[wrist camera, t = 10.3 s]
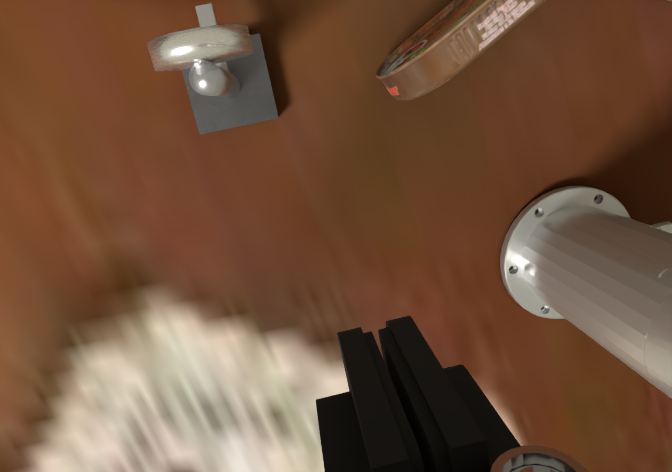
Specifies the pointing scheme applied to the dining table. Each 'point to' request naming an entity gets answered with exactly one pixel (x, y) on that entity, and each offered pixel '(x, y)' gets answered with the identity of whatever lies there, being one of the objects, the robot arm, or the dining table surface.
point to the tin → (450, 44)
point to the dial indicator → (219, 72)
